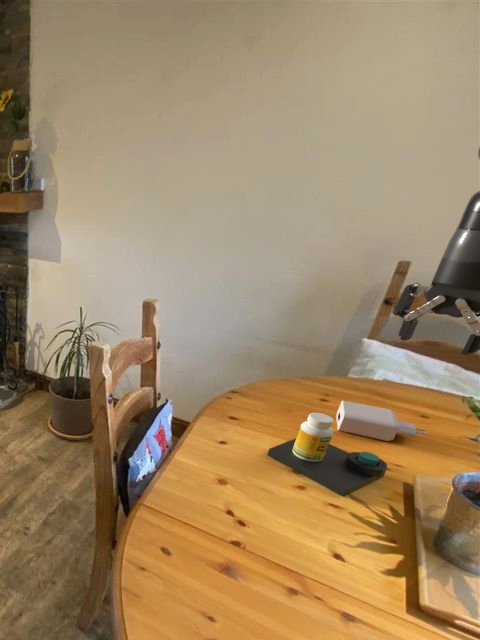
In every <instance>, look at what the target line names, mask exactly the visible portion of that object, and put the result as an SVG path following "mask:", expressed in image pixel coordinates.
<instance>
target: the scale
mask: <svg viewBox="0 0 480 640" xmlns="http://www.w3.org/2000/svg"><path fill="white" fill-rule="evenodd" d="M296 438H297V437H295V438H293V439H290V440H288V441H286V442H285V441H284V442H282V443H280V444H278V445H275V446H272V447H270V448H269V449H268V451H267V455H266V456H267V457H269V458H272V459H273V460H275V461H276V462H278V463H280V464H282V465H284V466H286V467H288V468H289V469H291V470H293V471H295V472H297V473H299V474H300V475H302V476H304V477H306V478H308V479H310V481H311V480H312V481H313V482H314V483H316V484H319V485H320V486H322V487H324V488H326V489H328V490H329V491H331V492H333V493H334V494H337V495H338V496H340V497H342V498H344V497H346V496H348V495H350V494H352V493H354V492H356V491H358V490H360V489H362V488H365V487H366V486H368V485H370V484H372V483H374V482H377V481H378V480H381V479H382V478H383V477H384V476H385V474H386V472H387V469H388V464H387V463H386V462H385V461H384V460H383V459H382V458H380V457H379V461H378V463H377V465H376V466H369V465H365V464H363V463H361V462H359V461H358V460H357V458H358V456H359V454H360V452H361V451H352V452H348V451H347V450H345V449H344V450H343V449H341V448H339V447H338V446H335V445H333V444H331V443H329V445H328V448H327V450H326V453H325V455H324V457H323V459H322V460H321V461H319V462H310V461H306V460H303V459H300V458H298V457H297V456H296V455H295V454H294V453H293V446H294V444H295V441H296Z"/></svg>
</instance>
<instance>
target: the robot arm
mask: <svg viewBox="0 0 480 640" xmlns="http://www.w3.org/2000/svg"><path fill="white" fill-rule="evenodd" d="M477 155H478V160H479V161H480V147H479V148H478V151H477ZM422 294H423V295H424V298H425V299H426V303H424V304H422V305H421V306H418V307H417V308H415V310H413V311H412V310H410V309H411V307H412V305H413V303H414V301H415V299H416V298H417V297H419V296H421V295H422ZM430 312H433V313H434V314H435V315H440V316H441V315H442V316H443V315H447V316H448V317H452V318H457V319H459V318H463V319H464V321H465V323H466V324H467V325H469V327H470V329H471V331H472V334H470V335H469V337H468V339H467V340H466V343H465V345H464V347H463V349H462V351H461V353H460V354H461V355H464V356H469V355H472V354H474V353H477V352H479V351H480V190H478V191H476V192H475V193H474V194H473V195H471V196H470V198H469V200H468V202H467V204H466V206H465V208H464V210H463V213H462V215H461V217H460V220H459V222H458V224H457V227H456V229H455V231H454V232H453V234H452V236H451V237H450V239H449V240H448V243H447V245H446V248H445V249H444V252H443V255H442V256H441V259H440V261H439V264H438V267H437V269H436V271H435V273H434V276H433V278H432V281H431V283H430V285H429V286H425V285H422V284H421V283H420V282H414V283H411V284H407V285H406V286H404V288H403V291H402V293H401V295H400V297H399V299H398V301H397V303H396V305H395V307H394V309H393V311H392V314H393V315H394V316H395V317H397V316H398V317H400V318H402V319H403V321H402V324H401V327H400V329H399V330H398V336H399V337H400V339H399V340H401V341H406V342H407V341H409V340H411V339H412V338H413V335H414V333H415V330H416V328H417V326H418V323H419V320H418V319H420V318H422V317H423V316H425V315H426V314H428V313H430Z"/></svg>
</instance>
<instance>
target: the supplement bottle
mask: <svg viewBox="0 0 480 640" xmlns="http://www.w3.org/2000/svg"><path fill="white" fill-rule="evenodd" d="M334 421H335V419H334V418H333V417H332V416H330V415H327V414H326V413H321V412H311V413H309V414H308V417H307V420H306V421H303V422H302V423H301V424H300V426H299V429H298V433H297V435H296V437H295V438H296V441H295V444H294V446H293V453H294V454H295V455H296V456H297V457H298V458H300V459H303V460H306V461H310V462H319V461H321V460H322V459H323V457H324V455H325V453H326V450H327V448H328V445H329V444H331V440H332V438H333V435H334V429H333V427H332V426H333V424H334Z"/></svg>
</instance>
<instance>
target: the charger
mask: <svg viewBox="0 0 480 640" xmlns="http://www.w3.org/2000/svg"><path fill="white" fill-rule="evenodd" d="M335 418H336V426H337V431H340V432H343V433H349V434H353V435H357V436H363V437H366V438H367V437H368V438H371V439H376V440H381V441H385V442H389V441H393V440H395V437H396V435H397V434H398V435H402V436H407V437H411V438H415V437H416V434H419V435H423V436H424V435H425V436H427V435H428V433H427V432H426V431H427V430H426V429H424V428H419V427H416V425H415V423H413V422H409V421H403V420H398V417H397V414H396V412H394V411H393V410H391V409H389V408H384V407H379V406H373V405H368V404H362V403H357V402H353V401H349V400H348V401H347V400H341V402H340V404H339V407H338V409H337V411H336V415H335Z"/></svg>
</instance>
